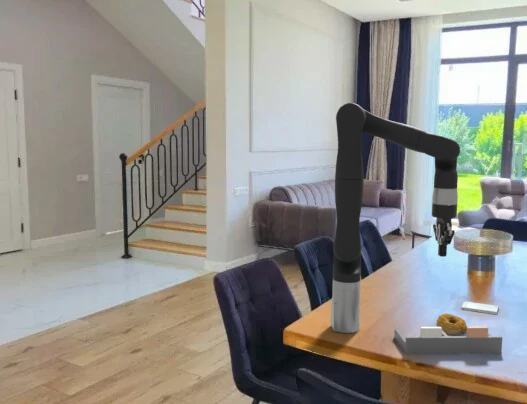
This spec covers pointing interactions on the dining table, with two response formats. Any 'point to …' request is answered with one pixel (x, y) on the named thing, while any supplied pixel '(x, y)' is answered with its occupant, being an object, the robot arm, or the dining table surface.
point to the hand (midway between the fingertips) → (442, 256)
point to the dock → (450, 342)
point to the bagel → (451, 324)
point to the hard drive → (480, 307)
